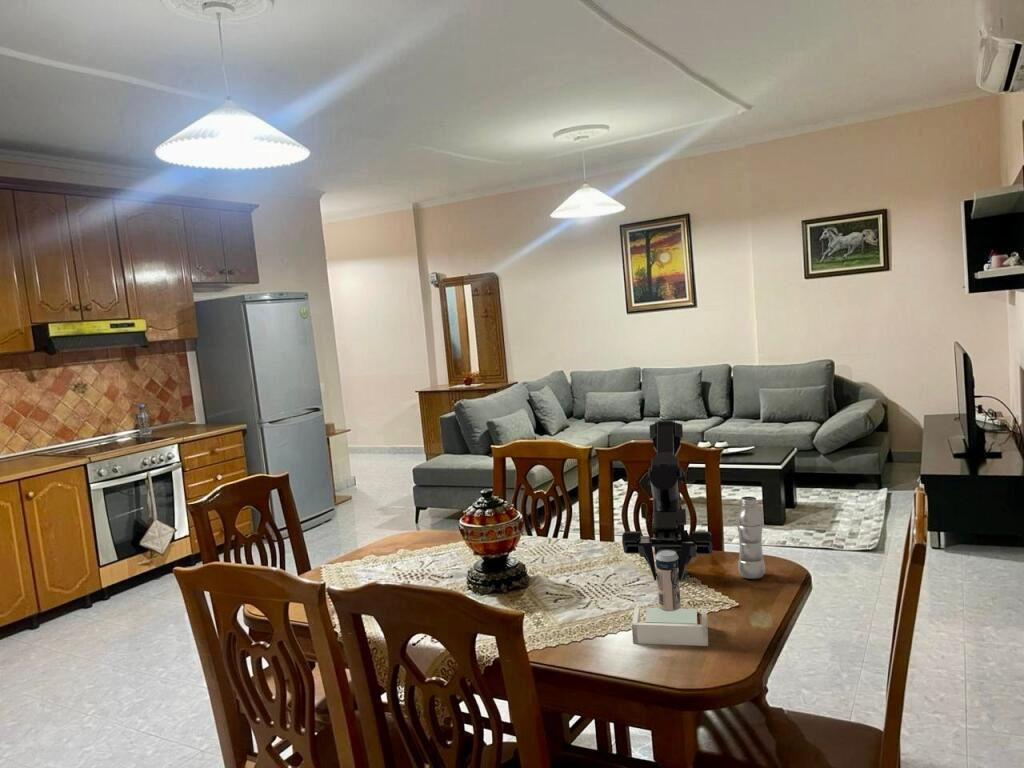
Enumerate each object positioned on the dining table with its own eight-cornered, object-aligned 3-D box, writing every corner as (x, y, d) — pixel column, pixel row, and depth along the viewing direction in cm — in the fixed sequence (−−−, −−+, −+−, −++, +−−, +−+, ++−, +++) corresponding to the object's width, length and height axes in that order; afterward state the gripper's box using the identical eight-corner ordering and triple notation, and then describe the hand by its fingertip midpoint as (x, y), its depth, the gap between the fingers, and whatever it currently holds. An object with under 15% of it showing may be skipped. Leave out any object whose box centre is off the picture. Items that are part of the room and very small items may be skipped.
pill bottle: (681, 612, 152) (678, 556, 151) (657, 612, 153) (655, 556, 152) (680, 603, 156) (678, 548, 155) (658, 603, 157) (655, 549, 156)
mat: (646, 610, 167) (646, 607, 167) (696, 611, 164) (696, 609, 164) (645, 624, 159) (645, 621, 159) (697, 626, 157) (697, 623, 157)
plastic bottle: (738, 581, 180) (735, 501, 178) (738, 571, 186) (735, 494, 185) (766, 582, 178) (763, 502, 176) (765, 572, 185) (762, 494, 183)
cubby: (635, 624, 160) (634, 606, 159) (707, 626, 156) (706, 608, 156) (632, 643, 151) (631, 624, 151) (708, 645, 147) (707, 626, 147)
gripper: (620, 495, 158) (618, 562, 149) (709, 494, 154) (714, 563, 144) (625, 520, 167) (624, 585, 157) (710, 519, 162) (714, 587, 153)
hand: (667, 580), depth 153 cm, fingers closed on pill bottle, 5 cm apart
